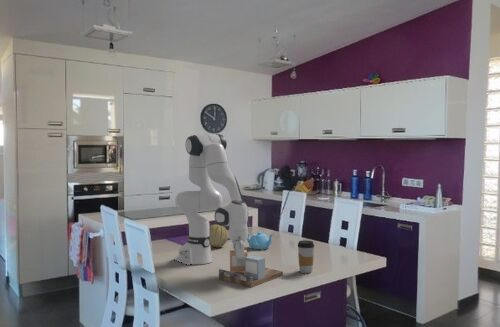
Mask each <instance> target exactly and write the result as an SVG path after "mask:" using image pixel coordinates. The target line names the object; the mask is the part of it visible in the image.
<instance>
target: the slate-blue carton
mask: <svg viewBox="0 0 500 327" xmlns="http://www.w3.org/2000/svg"><path fill="white" fill-rule="evenodd" d="M265 268H266V258H265V257H262V256H256V255H247V257H245V275H247V276H251V277H253V279H257V280H259V279H262V278H265Z"/></svg>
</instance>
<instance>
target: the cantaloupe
mask: <svg viewBox="0 0 500 327" xmlns="http://www.w3.org/2000/svg"><path fill="white" fill-rule="evenodd" d="M228 232H229V231H228V230H227V227H226V226H219V225H218V224H217V223H215V224H211V225H209V235H210V247H211V246H212V248H214V247H216V248H221V247H223V246H225V244H226V243H227V242H228V240H229V233H228Z"/></svg>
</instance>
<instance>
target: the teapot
mask: <svg viewBox="0 0 500 327" xmlns="http://www.w3.org/2000/svg"><path fill="white" fill-rule="evenodd" d="M273 236H274V233H271V234H270V235H269V238H268V236H267V235H266V234H265V233H262V232H261V231H257V232H256V233H253V234H252V235H251V237H250V233H249V232H248V239H246V241H247V243H248V247H249V248H250V249H251V248H253V249H252V250H255V249H264V250H267V249H269V248H270V246H271V244H272V240H273Z"/></svg>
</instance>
